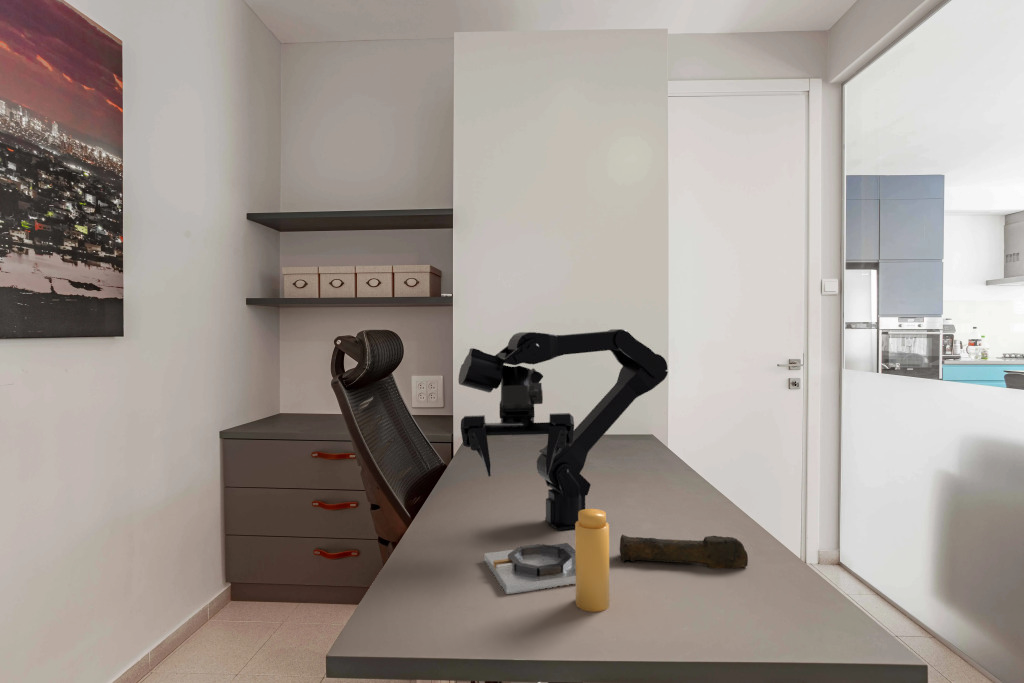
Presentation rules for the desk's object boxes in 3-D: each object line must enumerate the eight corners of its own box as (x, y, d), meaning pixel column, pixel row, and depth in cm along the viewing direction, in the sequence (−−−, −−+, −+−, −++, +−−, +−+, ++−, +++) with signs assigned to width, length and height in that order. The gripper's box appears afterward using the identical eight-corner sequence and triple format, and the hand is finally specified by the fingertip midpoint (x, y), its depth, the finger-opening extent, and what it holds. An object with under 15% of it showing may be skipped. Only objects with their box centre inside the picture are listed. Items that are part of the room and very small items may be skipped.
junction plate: (567, 550, 93) (567, 536, 93) (599, 580, 82) (599, 565, 82) (484, 561, 89) (484, 547, 89) (506, 594, 78) (506, 578, 78)
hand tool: (619, 565, 88) (619, 535, 88) (620, 555, 92) (620, 526, 92) (750, 577, 83) (750, 546, 83) (745, 566, 87) (745, 536, 87)
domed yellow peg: (600, 593, 78) (599, 506, 77) (615, 608, 73) (615, 516, 73) (570, 598, 76) (570, 509, 76) (584, 614, 72) (583, 520, 72)
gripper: (459, 368, 95) (454, 447, 84) (571, 365, 95) (580, 444, 84) (466, 408, 103) (461, 485, 92) (568, 405, 103) (576, 482, 92)
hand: (518, 474), depth 90 cm, fingers open, 9 cm apart
